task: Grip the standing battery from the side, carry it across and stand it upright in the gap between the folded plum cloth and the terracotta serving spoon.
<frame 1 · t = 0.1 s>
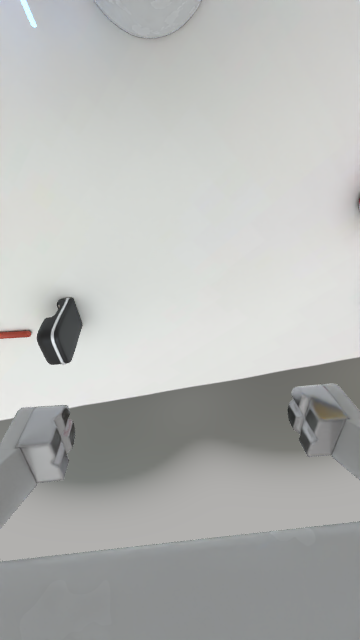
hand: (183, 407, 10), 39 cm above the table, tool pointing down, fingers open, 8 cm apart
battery: (68, 311, 53), on the table
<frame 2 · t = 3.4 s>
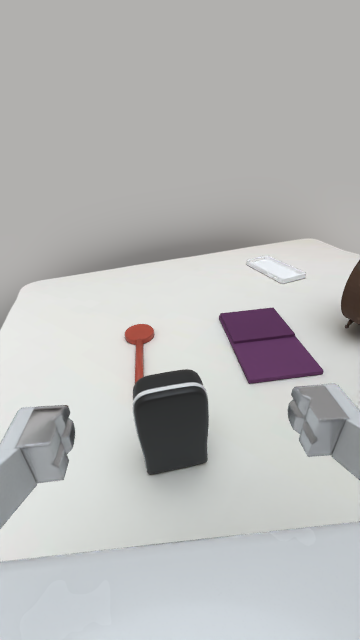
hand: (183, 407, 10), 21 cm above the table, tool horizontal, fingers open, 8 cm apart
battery: (175, 455, 31), on the table
cloth: (263, 342, 48), on the table
spoon: (139, 356, 46), on the table
phone case: (273, 271, 73), on the table
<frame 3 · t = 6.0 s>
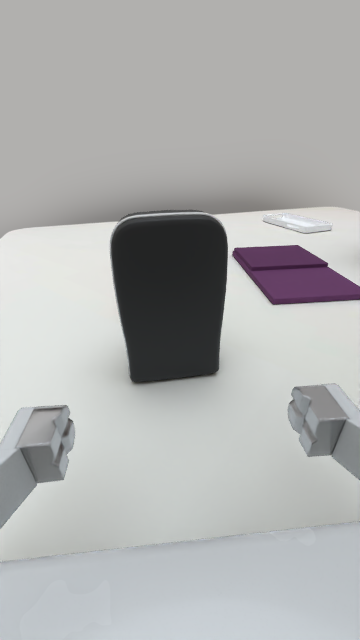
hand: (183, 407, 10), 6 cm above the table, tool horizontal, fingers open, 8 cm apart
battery: (172, 366, 22), on the table
cloth: (287, 272, 39), on the table
phone case: (294, 226, 65), on the table
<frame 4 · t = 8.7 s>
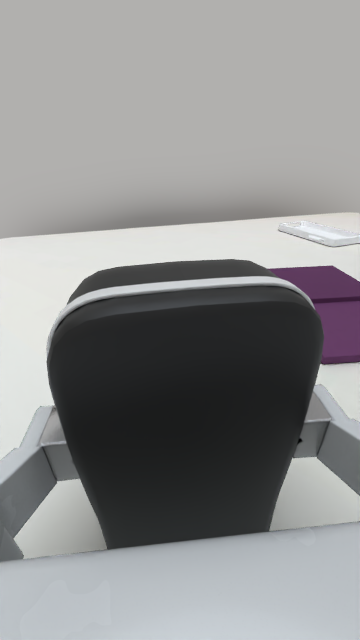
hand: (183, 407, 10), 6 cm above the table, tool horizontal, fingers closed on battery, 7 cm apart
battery: (185, 508, 13), on the table, touching gripper
cloth: (327, 306, 30), on the table
phone case: (316, 236, 56), on the table
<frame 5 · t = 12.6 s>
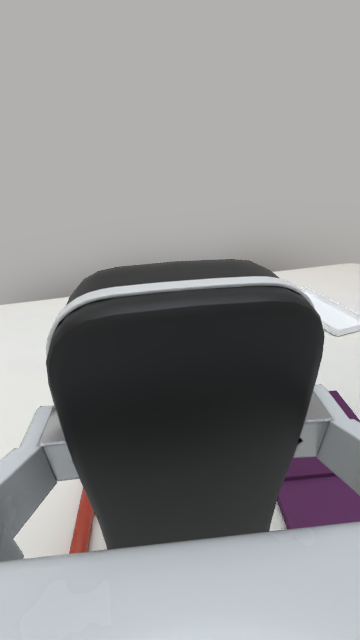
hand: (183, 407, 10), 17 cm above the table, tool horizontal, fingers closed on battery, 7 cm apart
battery: (185, 508, 13), point 11 cm above the table, touching gripper
cloth: (330, 476, 25), on the table
spoon: (90, 498, 24), on the table
phone case: (317, 312, 51), on the table
when the fingers open (6 cm above the table, at t = 17.0 s): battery stays where it is, on the table.
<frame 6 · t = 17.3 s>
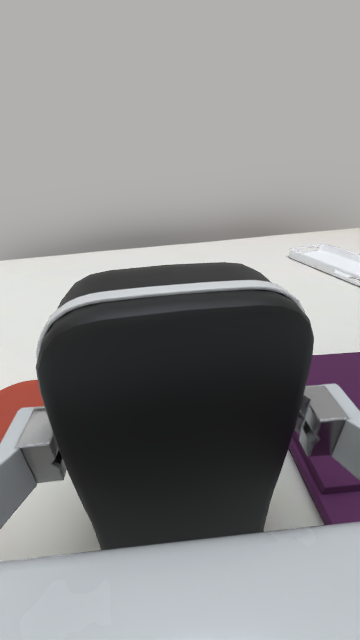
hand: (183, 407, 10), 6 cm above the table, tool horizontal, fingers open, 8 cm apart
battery: (180, 509, 13), on the table
phone case: (342, 269, 40), on the table
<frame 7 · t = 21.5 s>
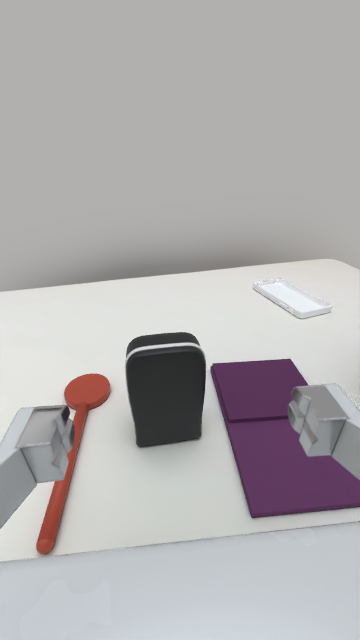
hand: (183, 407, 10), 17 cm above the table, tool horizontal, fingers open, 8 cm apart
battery: (167, 430, 30), on the table
cloth: (275, 421, 30), on the table
spoon: (77, 436, 29), on the table
phone case: (288, 299, 56), on the table
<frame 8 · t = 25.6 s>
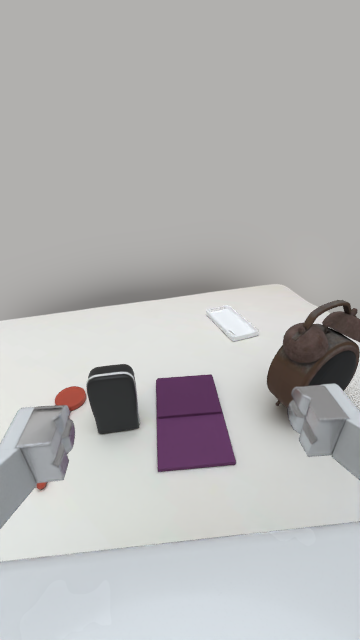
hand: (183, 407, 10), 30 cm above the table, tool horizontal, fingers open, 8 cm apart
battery: (119, 423, 47), on the table
cloth: (189, 417, 47), on the table
spoon: (62, 427, 46), on the table
alarm clock: (304, 408, 48), on the table
phone case: (230, 324, 73), on the table
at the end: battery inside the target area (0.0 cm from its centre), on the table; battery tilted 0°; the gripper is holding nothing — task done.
